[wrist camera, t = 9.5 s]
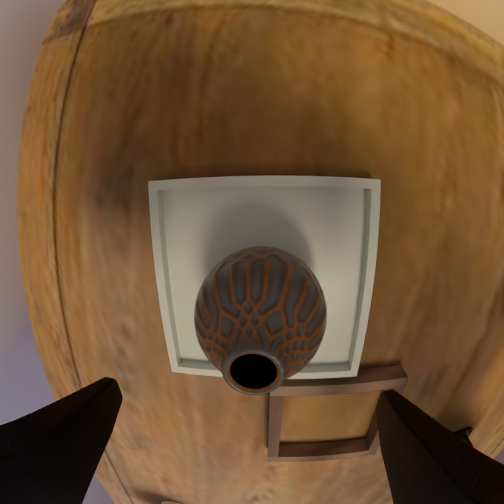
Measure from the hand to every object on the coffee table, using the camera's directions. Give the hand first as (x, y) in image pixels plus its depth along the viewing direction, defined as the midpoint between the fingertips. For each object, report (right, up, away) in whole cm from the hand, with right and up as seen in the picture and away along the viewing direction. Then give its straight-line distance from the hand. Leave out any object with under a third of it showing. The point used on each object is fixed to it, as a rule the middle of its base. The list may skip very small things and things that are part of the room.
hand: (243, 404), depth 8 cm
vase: (+1, +3, +11) cm, 11 cm away
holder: (+7, -10, +14) cm, 18 cm away
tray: (+1, +3, +11) cm, 11 cm away
